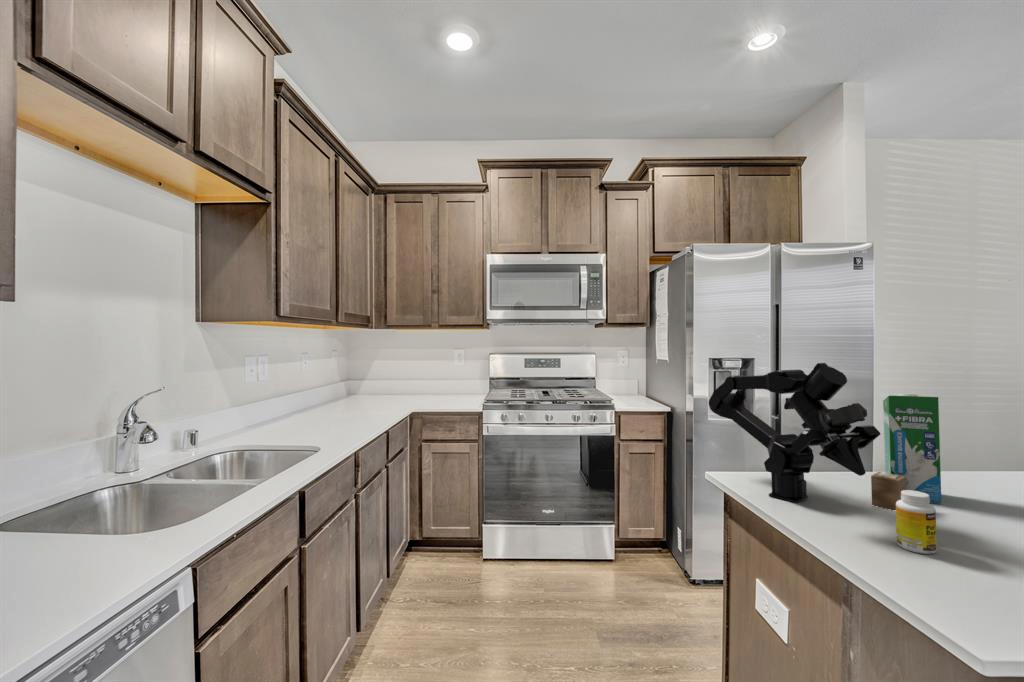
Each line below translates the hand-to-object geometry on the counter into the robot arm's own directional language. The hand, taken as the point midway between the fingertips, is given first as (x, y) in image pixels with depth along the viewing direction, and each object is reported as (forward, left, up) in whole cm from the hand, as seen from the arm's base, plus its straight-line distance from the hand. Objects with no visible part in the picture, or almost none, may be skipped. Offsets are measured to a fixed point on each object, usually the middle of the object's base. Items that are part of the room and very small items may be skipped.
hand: (862, 474), depth 94 cm
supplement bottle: (+9, -4, -11) cm, 15 cm away
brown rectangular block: (-1, +18, -11) cm, 21 cm away
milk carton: (0, +31, -11) cm, 33 cm away
